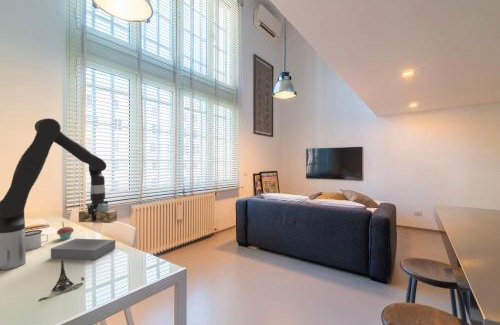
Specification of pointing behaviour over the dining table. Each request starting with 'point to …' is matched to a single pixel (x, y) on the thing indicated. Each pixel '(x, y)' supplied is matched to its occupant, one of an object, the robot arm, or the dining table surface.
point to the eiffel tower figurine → (64, 283)
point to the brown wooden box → (98, 216)
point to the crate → (102, 207)
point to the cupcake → (65, 232)
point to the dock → (83, 249)
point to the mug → (33, 239)
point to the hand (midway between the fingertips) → (98, 219)
